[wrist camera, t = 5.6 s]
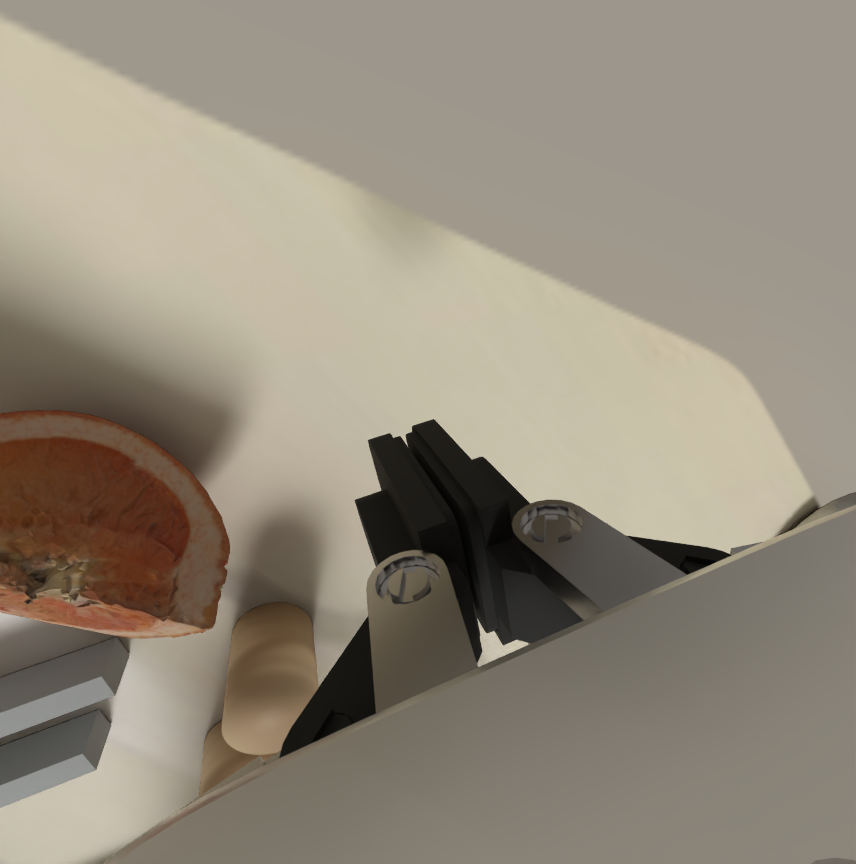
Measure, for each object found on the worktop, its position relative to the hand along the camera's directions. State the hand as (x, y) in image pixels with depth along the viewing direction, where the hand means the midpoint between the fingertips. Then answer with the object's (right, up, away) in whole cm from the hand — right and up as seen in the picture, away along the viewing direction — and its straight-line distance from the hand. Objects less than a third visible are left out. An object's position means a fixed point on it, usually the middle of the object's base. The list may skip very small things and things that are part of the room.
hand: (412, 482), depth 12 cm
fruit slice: (-11, -1, +4) cm, 11 cm away
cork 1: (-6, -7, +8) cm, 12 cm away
